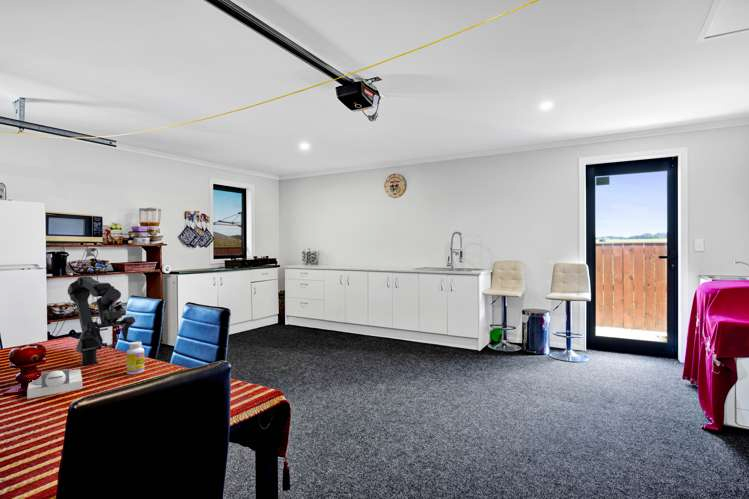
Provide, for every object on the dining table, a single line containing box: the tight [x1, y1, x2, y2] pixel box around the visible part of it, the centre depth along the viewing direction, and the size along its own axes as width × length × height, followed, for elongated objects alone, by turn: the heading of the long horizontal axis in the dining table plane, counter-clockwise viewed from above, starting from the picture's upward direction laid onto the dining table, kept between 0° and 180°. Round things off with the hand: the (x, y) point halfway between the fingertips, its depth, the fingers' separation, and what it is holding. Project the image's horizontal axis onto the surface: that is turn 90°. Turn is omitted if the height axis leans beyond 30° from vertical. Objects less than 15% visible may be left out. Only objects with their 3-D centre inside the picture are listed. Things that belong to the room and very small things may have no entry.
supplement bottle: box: [126, 341, 145, 375], centre depth 173 cm, size 7×7×13 cm
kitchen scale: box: [26, 368, 83, 400], centre depth 156 cm, size 21×16×8 cm
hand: (114, 343), depth 173 cm, fingers open, 9 cm apart
